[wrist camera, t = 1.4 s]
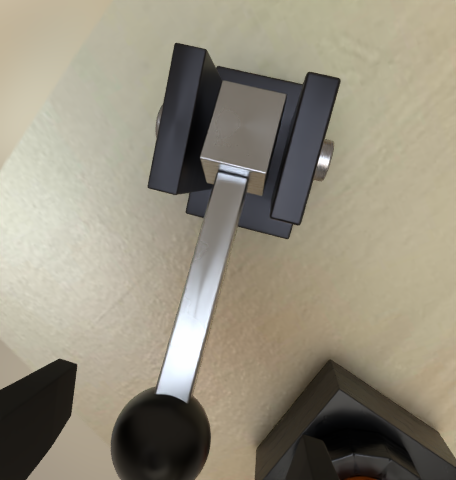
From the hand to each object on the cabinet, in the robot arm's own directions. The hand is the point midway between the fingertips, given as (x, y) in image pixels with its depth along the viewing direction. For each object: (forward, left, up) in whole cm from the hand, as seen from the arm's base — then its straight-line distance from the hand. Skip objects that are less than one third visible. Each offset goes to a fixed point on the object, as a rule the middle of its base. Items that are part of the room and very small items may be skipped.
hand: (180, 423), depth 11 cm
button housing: (-3, -11, -11) cm, 16 cm away
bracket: (+8, +3, -11) cm, 14 cm away
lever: (+3, +2, -3) cm, 5 cm away
